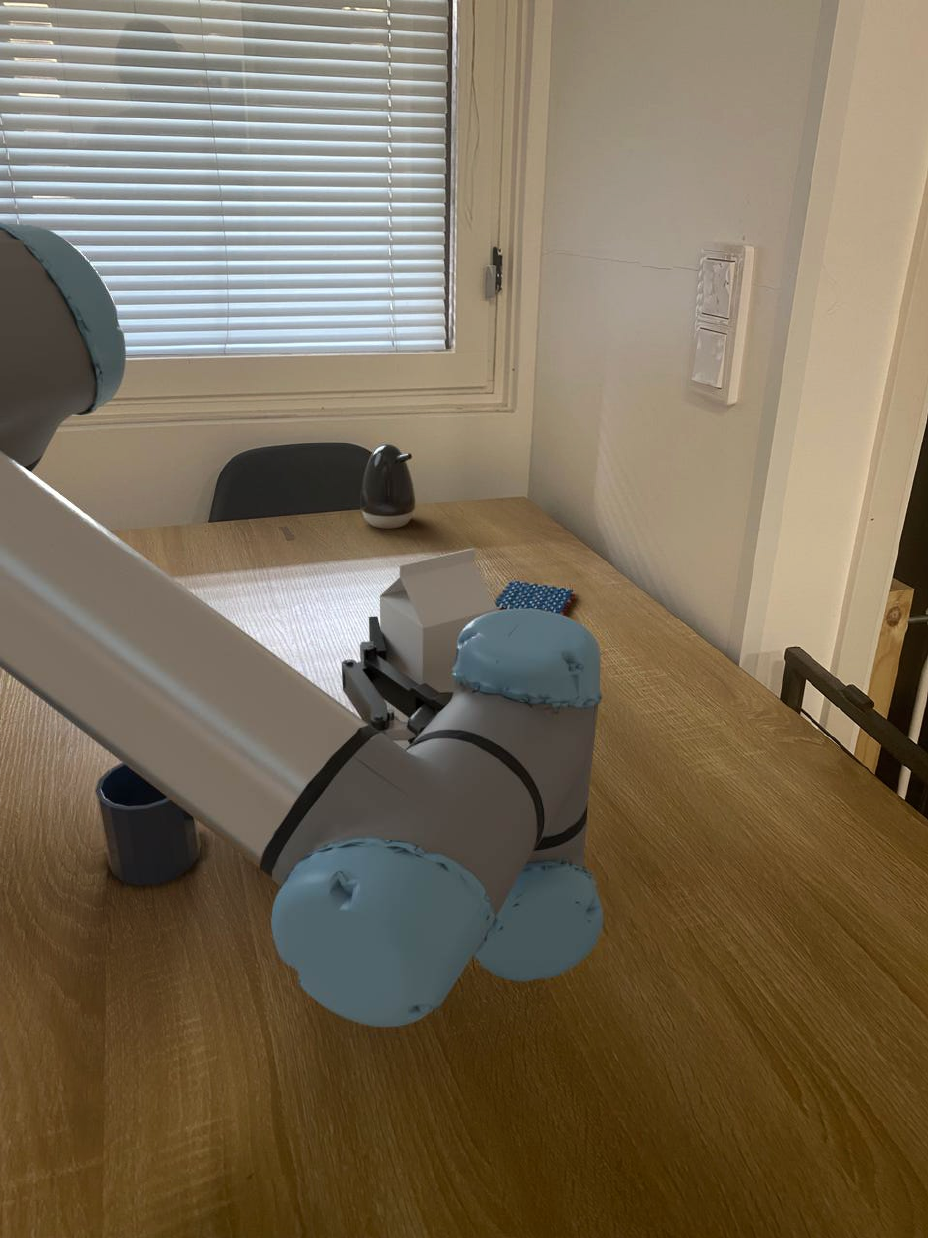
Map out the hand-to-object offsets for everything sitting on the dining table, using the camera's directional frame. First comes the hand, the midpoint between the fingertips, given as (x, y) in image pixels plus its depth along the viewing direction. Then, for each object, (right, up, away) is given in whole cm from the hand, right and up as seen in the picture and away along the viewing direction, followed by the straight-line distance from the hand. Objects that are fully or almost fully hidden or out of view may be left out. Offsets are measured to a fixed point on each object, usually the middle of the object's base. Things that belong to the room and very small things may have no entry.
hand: (428, 626), depth 81 cm
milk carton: (+1, -12, +1) cm, 12 cm away
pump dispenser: (-11, +18, +87) cm, 90 cm away
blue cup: (-26, -22, +4) cm, 34 cm away
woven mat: (+14, +2, +56) cm, 58 cm away
